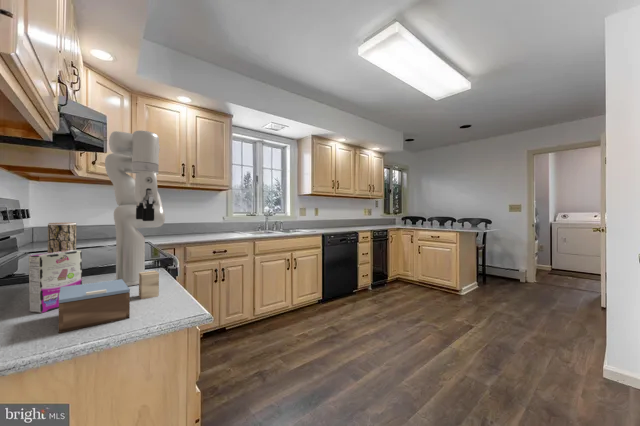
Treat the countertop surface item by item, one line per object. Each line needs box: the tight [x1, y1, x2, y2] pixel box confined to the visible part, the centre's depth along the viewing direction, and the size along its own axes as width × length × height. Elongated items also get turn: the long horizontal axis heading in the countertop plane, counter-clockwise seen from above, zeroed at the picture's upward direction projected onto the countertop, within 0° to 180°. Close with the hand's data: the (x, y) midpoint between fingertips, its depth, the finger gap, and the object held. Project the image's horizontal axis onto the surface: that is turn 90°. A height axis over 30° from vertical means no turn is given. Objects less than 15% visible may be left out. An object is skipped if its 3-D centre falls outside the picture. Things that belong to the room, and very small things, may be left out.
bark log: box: [47, 222, 77, 253], centre depth 89 cm, size 7×7×25 cm
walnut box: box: [58, 291, 131, 334], centre depth 75 cm, size 15×14×7 cm
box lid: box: [59, 279, 131, 303], centre depth 75 cm, size 15×14×1 cm
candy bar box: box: [28, 249, 83, 314], centre depth 82 cm, size 11×5×16 cm, turn 168°
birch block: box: [138, 270, 160, 300], centre depth 94 cm, size 5×5×8 cm
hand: (144, 220), depth 91 cm, fingers open, 9 cm apart
